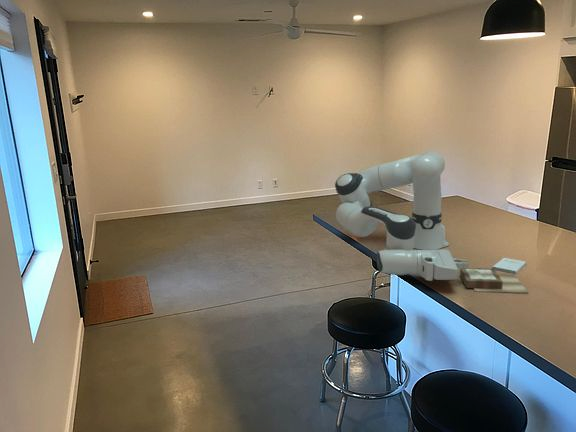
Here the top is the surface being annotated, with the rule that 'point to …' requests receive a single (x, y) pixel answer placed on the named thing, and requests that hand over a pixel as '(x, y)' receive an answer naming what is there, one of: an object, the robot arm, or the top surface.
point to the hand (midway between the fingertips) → (467, 264)
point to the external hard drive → (509, 265)
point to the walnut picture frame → (481, 278)
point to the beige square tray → (506, 285)
